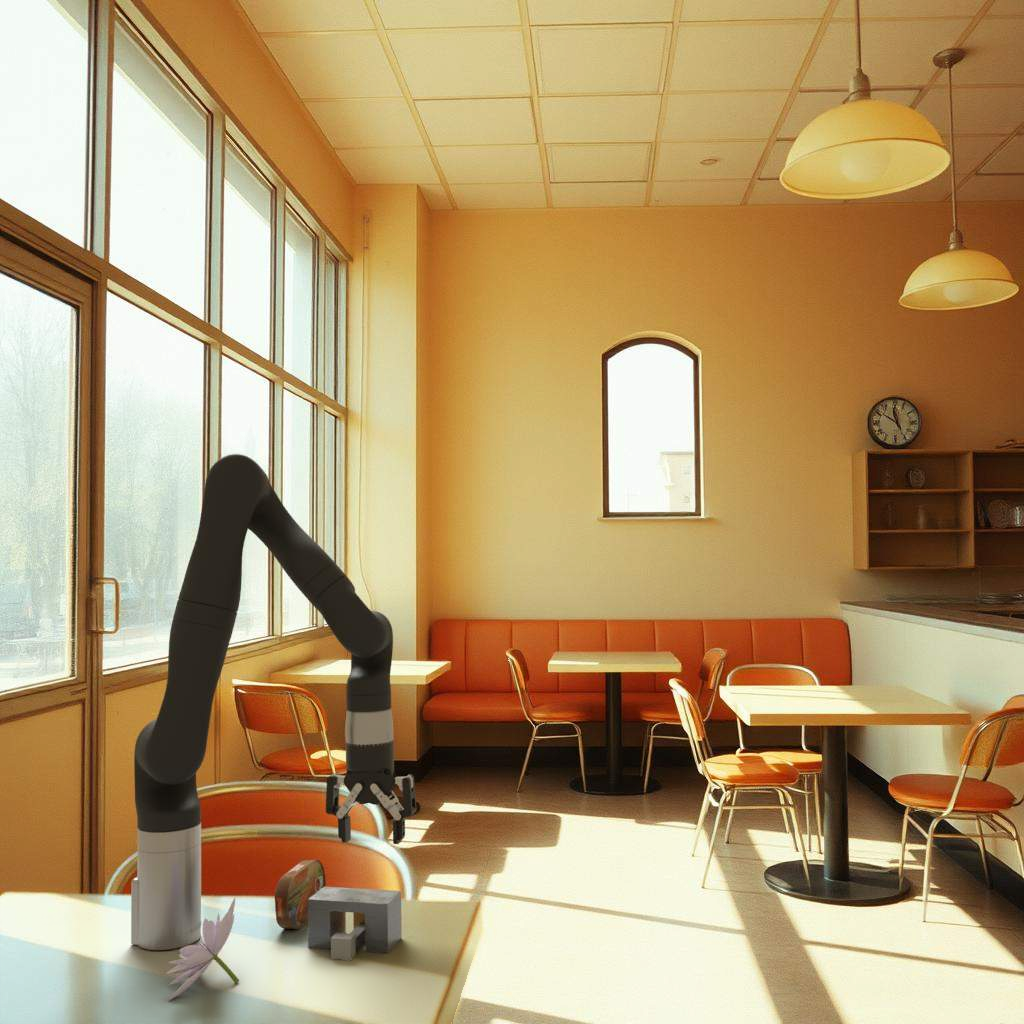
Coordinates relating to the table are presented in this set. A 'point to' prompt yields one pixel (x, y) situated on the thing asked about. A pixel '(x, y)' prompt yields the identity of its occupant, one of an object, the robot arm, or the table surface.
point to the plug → (349, 939)
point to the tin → (297, 893)
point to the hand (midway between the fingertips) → (371, 842)
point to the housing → (335, 902)
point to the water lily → (204, 951)
